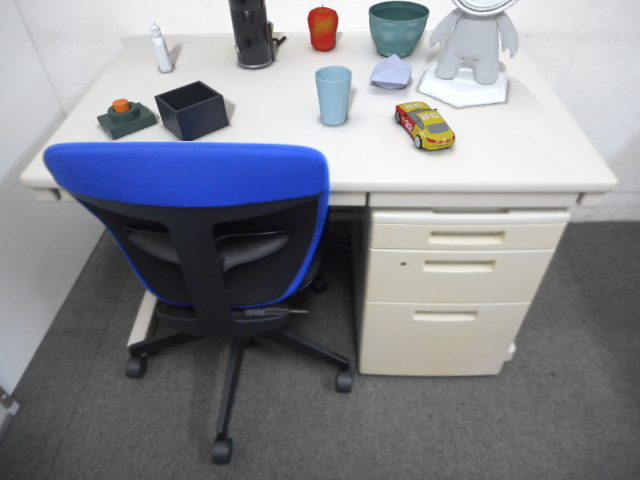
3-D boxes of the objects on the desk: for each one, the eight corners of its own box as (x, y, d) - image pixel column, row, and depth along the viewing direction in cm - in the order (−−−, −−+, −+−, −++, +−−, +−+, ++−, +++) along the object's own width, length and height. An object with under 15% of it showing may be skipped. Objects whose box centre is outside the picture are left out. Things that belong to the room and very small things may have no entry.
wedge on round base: (404, 98, 98) (412, 74, 107) (408, 69, 93) (415, 48, 102) (367, 93, 100) (377, 71, 109) (369, 66, 95) (379, 45, 104)
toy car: (421, 110, 94) (424, 89, 90) (459, 151, 82) (464, 128, 78) (389, 115, 92) (391, 94, 89) (423, 158, 81) (427, 135, 77)
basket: (206, 109, 97) (199, 80, 92) (229, 125, 91) (222, 95, 86) (163, 125, 92) (153, 96, 87) (184, 143, 86) (175, 113, 81)
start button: (126, 104, 92) (124, 97, 90) (132, 109, 90) (129, 102, 89) (112, 109, 90) (109, 101, 89) (118, 114, 88) (115, 107, 87)
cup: (342, 131, 88) (342, 84, 81) (310, 123, 91) (308, 77, 83) (356, 115, 93) (357, 69, 86) (325, 108, 96) (324, 63, 88)
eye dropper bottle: (154, 72, 112) (139, 24, 103) (163, 63, 116) (150, 17, 107) (169, 73, 111) (155, 25, 103) (178, 64, 115) (165, 18, 106)
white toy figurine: (413, 101, 97) (440, -88, 72) (430, 62, 112) (457, -105, 87) (503, 114, 92) (566, -85, 66) (507, 71, 106) (560, -104, 81)
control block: (142, 110, 97) (136, 94, 94) (157, 123, 93) (151, 106, 90) (100, 125, 93) (92, 109, 90) (113, 139, 88) (106, 123, 85)
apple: (305, 53, 118) (303, 8, 110) (312, 42, 124) (311, -2, 115) (335, 55, 117) (335, 9, 108) (340, 44, 122) (341, -1, 114)
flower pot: (434, 56, 114) (442, 14, 106) (383, 67, 110) (387, 24, 102) (404, 37, 125) (409, -3, 117) (356, 46, 121) (358, 5, 113)
